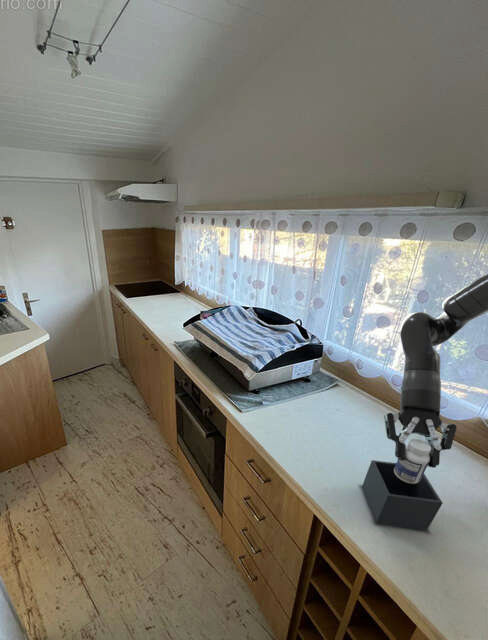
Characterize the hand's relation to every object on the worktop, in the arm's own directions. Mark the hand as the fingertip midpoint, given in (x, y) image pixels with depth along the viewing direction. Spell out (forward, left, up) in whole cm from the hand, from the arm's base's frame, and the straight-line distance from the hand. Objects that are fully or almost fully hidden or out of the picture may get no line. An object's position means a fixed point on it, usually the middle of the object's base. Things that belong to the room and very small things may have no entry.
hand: (416, 463), depth 69 cm
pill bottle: (0, -2, -6) cm, 6 cm away
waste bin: (0, -2, -17) cm, 17 cm away
